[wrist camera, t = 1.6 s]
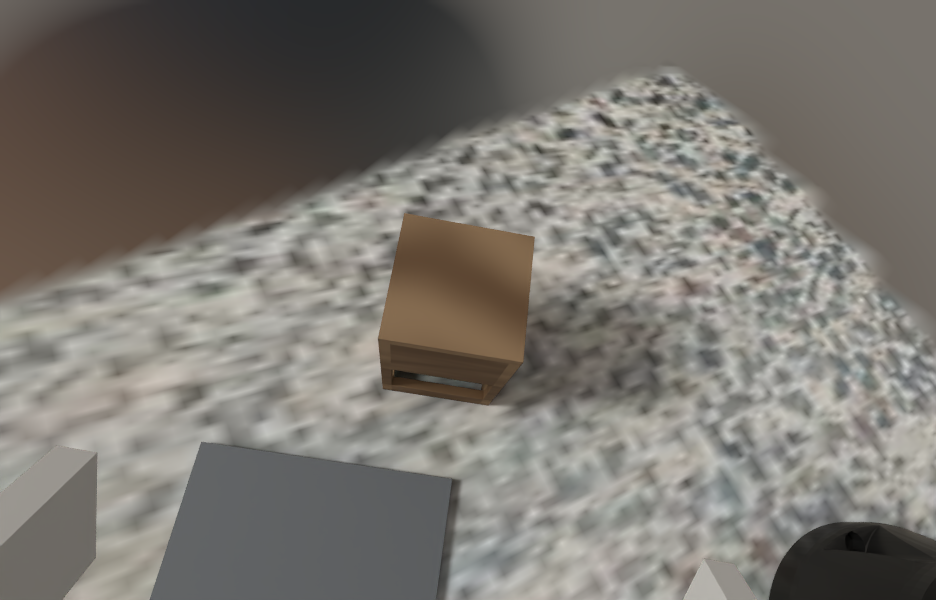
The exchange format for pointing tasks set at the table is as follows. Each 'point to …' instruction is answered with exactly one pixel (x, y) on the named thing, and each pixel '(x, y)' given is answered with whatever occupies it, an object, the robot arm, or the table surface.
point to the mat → (303, 530)
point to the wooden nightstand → (455, 308)
